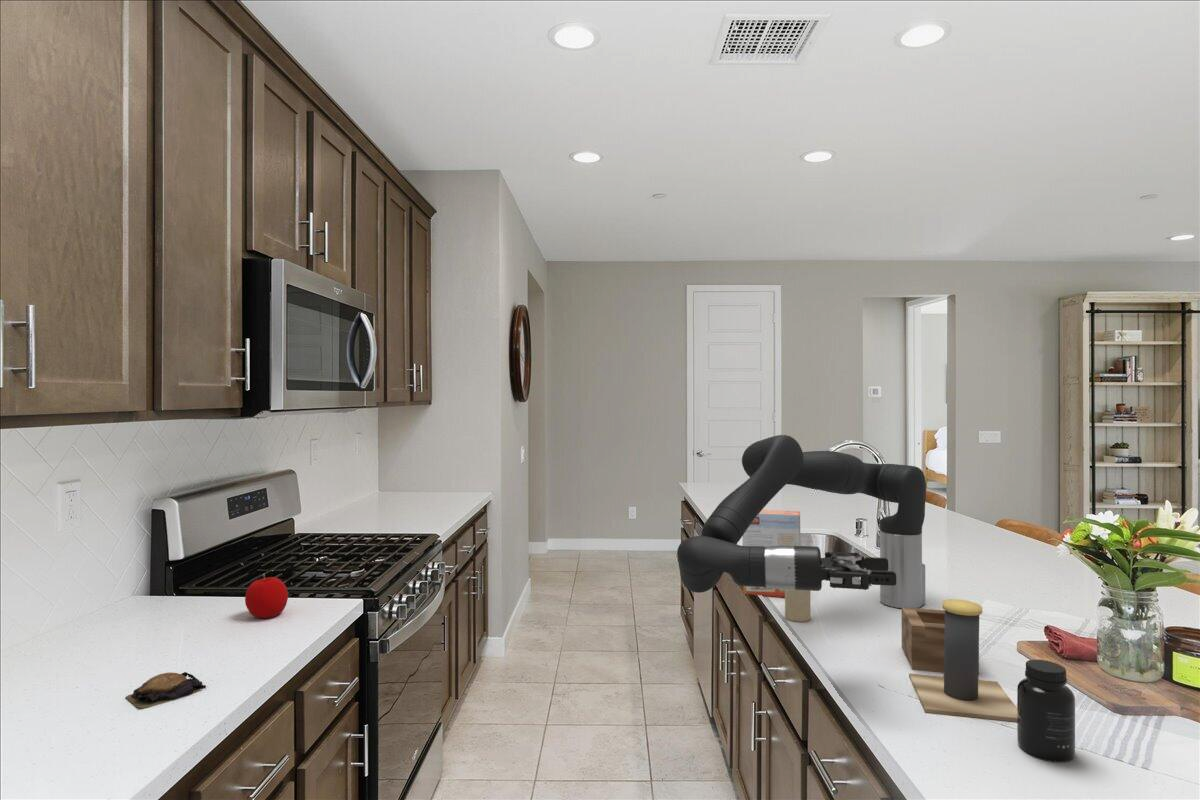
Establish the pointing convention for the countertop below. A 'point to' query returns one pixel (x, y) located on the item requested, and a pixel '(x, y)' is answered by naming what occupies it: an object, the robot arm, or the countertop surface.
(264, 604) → the fruit
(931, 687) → the cork mat
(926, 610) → the socket block
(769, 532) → the cracker box
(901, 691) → the countertop surface
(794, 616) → the candle
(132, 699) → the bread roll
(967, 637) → the plug
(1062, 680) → the supplement bottle
